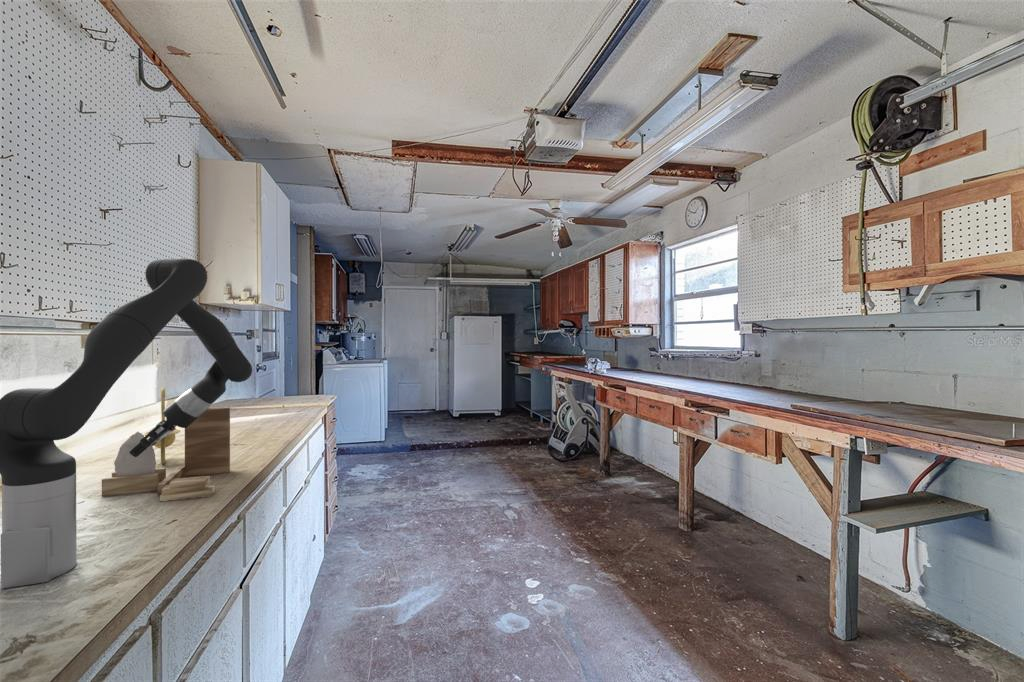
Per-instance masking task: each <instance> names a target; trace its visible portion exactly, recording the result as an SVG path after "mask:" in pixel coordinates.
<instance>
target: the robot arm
mask: <svg viewBox="0 0 1024 682" xmlns="http://www.w3.org/2000/svg"><path fill="white" fill-rule="evenodd" d="M144 275H145V280H146V282H147V285H148V286H149V288H150V289H151V291H150V292H148V293H145V294H144V295H142V296H139V297H137V298H135V299H133V300H130V301H129V302H126V303H125V304H122V305H120V306H119V307H117V308H115V309H113V310H112V311H111V312H109V313H108V314H107V315H106V316H105V317H104V318H103V319H102V320H100V321H99V322H98V324H96V325H95V326H94V327H93V328H92V329H91V330H90V332H89V333H88V334H87V336H86V339H85V343H84V348H83V349H84V351H83V359H82V362H81V364H80V365H79V367H78V368H77V369H76V370H75V371H74V372H72V373H71V375H70V376H69V377H67V379H65V381H63V382H62V383H60V385H58V386H56V387H54V388H44V387H43V388H37V387H36V388H32V387H31V388H29V387H27V388H19V389H15V390H12V391H9V392H7V393H5V394H4V395H3V396H2V397H1V398H0V477H1V534H0V588H1V589H7V588H14V587H21V586H27V585H28V586H29V585H35V584H42V583H47V582H50V581H51V580H53V579H54V578H56V577H59V576H61V575H63V574H65V573H68V572H69V571H71V570H72V569H73V568H75V567H76V565H77V552H78V550H77V545H78V544H77V461H76V458H75V457H74V456H72V455H70V454H68V453H66V452H64V451H63V450H61V449H60V448H59V447H58V446H57V445H56V443H55V441H60V440H65V439H67V438H70V437H72V436H73V435H74V434H76V433H78V432H79V431H80V430H81V429H82V428H83V426H85V424H87V422H88V421H89V420H90V418H91V417H92V415H93V414H94V413H95V411H96V410H97V408H98V407H99V406H100V405H101V403H102V401H103V400H104V399H105V397H106V396H107V394H108V393H109V391H110V390H111V388H112V387H113V386H114V385H115V383H116V382H117V381H118V380H119V379H120V378H121V377H122V375H124V373H125V372H126V370H127V369H128V368H129V367H130V366H131V364H132V363H133V362H134V361H135V360H136V359H137V358H138V357H139V356H140V355H142V353H143V352H144V351H145V350H146V349H147V348H148V346H149V345H150V344H151V343H153V341H154V339H155V338H156V337H157V336H158V335H159V333H160V332H162V330H164V328H165V327H166V326H167V325H168V324H169V323H170V322H171V321H172V320H173V318H175V316H178V317H179V319H181V320H182V321H183V322H184V323H185V324H186V325H187V326H188V327H189V328H190V329H191V330H192V332H193V333H194V334H195V335H196V337H197V338H198V339H199V340H200V342H201V344H202V345H203V346H204V347H205V349H206V351H207V352H208V353H209V354H210V355H211V356H212V357H213V358H214V360H215V361H214V362H213V363H212V365H211V366H210V367H209V369H208V370H207V371H206V373H205V375H204V376H203V377H202V378H200V379H199V381H197V382H195V384H194V385H193V386H191V387H190V388H189V389H187V390H186V391H184V392H183V393H182V394H181V395H180V396H179V397H177V398H176V399H175V400H174V401H172V403H170V404H169V405H168V406H167V407H165V410H164V411H163V414H164V416H165V420H163V421H162V420H161V421H160V422H158V423H156V425H155V427H153V428H152V429H150V430H149V431H147V432H148V434H147V435H146V436H145V435H144V438H143V439H141V440H140V443H139V444H138V445H137V446H135V447H134V448H133V449H132V450H131V451H130V452H129V453H130V454H131V455H132V456H134V457H137V456H139V455H140V454H141V453H142V452H143V451H144V450H146V449H147V448H148V447H149V446H151V445H152V447H153V446H154V444H156V443H157V442H158V441H160V440H161V439H163V438H164V437H166V436H168V435H169V434H170V433H172V432H173V431H174V430H175V429H177V427H179V428H182V429H185V428H187V427H188V426H189V425H190V424H191V423H192V422H194V421H195V420H196V419H197V418H198V417H199V416H200V415H201V414H203V413H204V412H205V411H206V410H207V409H208V408H210V407H211V405H213V404H214V403H215V402H216V401H217V400H218V399H220V397H222V396H223V395H224V394H225V393H226V390H227V387H226V385H227V384H226V383H227V381H228V380H229V381H231V382H235V383H243V382H245V381H247V380H248V379H250V378H251V376H252V374H253V365H252V364H251V363H250V361H249V360H248V359H247V357H246V356H245V355H244V353H243V352H242V350H241V349H240V348H239V345H237V342H236V340H235V339H234V337H233V335H232V333H231V332H230V331H229V329H228V328H227V326H226V325H225V324H224V323H223V321H221V320H220V319H219V318H218V317H216V316H215V315H214V314H212V313H211V312H210V311H208V310H206V309H205V308H203V307H202V305H200V304H198V302H196V301H195V300H194V299H196V297H198V296H199V295H200V294H201V292H203V291H204V289H205V288H206V285H207V282H208V271H207V269H206V267H205V266H204V264H203V263H201V262H200V261H198V260H195V259H191V258H185V257H184V258H183V257H182V258H164V259H163V258H162V259H161V258H160V259H156V260H152V261H150V263H148V265H147V267H146V268H145V273H144ZM146 439H148V440H149V441H148V440H146Z"/></svg>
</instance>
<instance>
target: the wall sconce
mask: <svg viewBox="0 0 1024 682" xmlns="http://www.w3.org/2000/svg"><path fill="white" fill-rule="evenodd" d="M160 390H161V391H160V392H161V393H160V411H161V413H160V414H161V421H163V420H166V417H165V416H164V414H163V411H164V410H165V409H166V406H165V405H166V400H165V399H166V387H161V389H160ZM148 432H149V431H147V432H145V433H143V435H144V437H145V436H146V435H147V434H148ZM180 432H181V429H177V428H176V429H175V430H174V431H173V432H172V433H170V434H169V435H168V436H166V437H164V438H163V439H161V440H160V441H158V442H157V443H156V444H154V445H153V446H154V447H155V448H158V449H160V464H161V465H163V464H165V462H166V448H168V447H170V446H171V445H173V444H174V442H175V440H176V434H178V433H180Z"/></svg>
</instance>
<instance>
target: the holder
mask: <svg viewBox="0 0 1024 682" xmlns="http://www.w3.org/2000/svg"><path fill="white" fill-rule="evenodd" d="M166 477H167V467H155V474H146V475H135V476H123V477H117V475H116V472H115V471H113V472H111V477H103V478H101V497H110V496H111V497H112V496H120V495H121V496H122V495H130V494H139V493H141V494H143V493H152V492H151V491H153V492H158V484H159V483H160V482H162V481H163V480H164V479H165V478H166ZM142 492H143V493H142Z"/></svg>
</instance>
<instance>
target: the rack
mask: <svg viewBox="0 0 1024 682" xmlns="http://www.w3.org/2000/svg"><path fill="white" fill-rule="evenodd" d="M230 471H231V407H209V408H208V409H207V410H206V411H205V412H204V413H203V414H201V415H200V416H199V417H198V418H197V419H196V420H195V421H194V422H192V423H191V424H190V425H189V426H188V427H187V428H184V465H183V466H177V468H176V469H174V470H173V471H172V472H171V473H170V474H168V476H167V475H166V478H165V479H164V480H163V481H162V482H160V483H159V484H158V491H157V497H160V495H162V489H163V488H164V487H165V485H169V483H170V482H171V481H173V480H174V479H178V478H185V477H189V476H190V477H192V476H200V475H201V476H202V475H213V474H212V473H214V474H222V473H221V472H225V473H229V472H230Z"/></svg>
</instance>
